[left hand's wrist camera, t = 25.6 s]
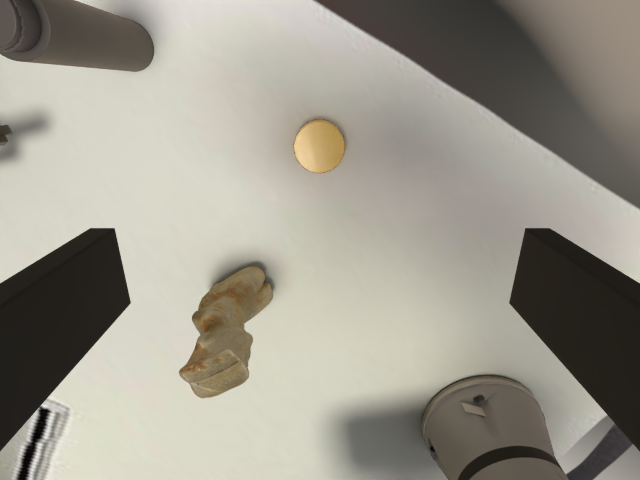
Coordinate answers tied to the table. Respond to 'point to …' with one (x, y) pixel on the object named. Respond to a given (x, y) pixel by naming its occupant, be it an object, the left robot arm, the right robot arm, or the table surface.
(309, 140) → the lid
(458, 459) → the left robot arm
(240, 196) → the table surface
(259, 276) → the sculpture
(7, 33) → the grey cylindrical bottle
